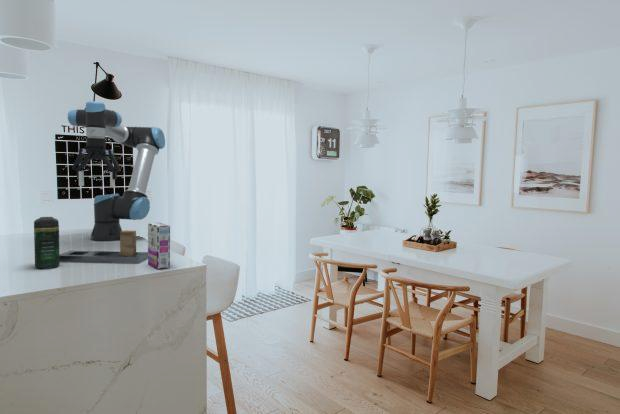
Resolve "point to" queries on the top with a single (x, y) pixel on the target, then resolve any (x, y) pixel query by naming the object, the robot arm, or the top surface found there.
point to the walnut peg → (127, 243)
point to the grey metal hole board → (102, 257)
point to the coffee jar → (46, 242)
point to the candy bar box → (159, 245)
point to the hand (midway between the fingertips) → (97, 186)
